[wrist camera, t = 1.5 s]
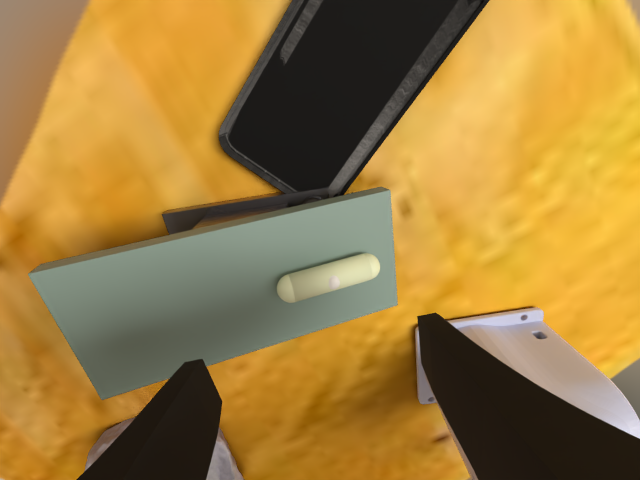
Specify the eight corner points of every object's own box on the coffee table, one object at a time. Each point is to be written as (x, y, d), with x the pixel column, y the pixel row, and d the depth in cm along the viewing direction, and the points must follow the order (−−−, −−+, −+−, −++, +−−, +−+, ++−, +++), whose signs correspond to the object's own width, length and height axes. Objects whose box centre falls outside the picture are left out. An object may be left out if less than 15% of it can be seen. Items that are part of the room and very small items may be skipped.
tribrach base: (326, 184, 19) (331, 197, 16) (340, 282, 21) (346, 309, 19) (167, 210, 19) (141, 227, 16) (201, 304, 22) (184, 334, 19)
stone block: (196, 371, 26) (89, 431, 26) (187, 419, 22) (58, 493, 21) (263, 447, 31) (174, 499, 31) (267, 499, 27) (163, 561, 26)
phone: (508, -25, 15) (324, 220, 19) (494, -15, 16) (323, 214, 20) (383, -167, 13) (209, 142, 17) (377, -145, 14) (214, 140, 18)
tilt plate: (373, 183, 17) (406, 196, 14) (382, 289, 20) (411, 319, 17) (51, 256, 14) (3, 292, 11) (114, 372, 17) (89, 427, 13)
